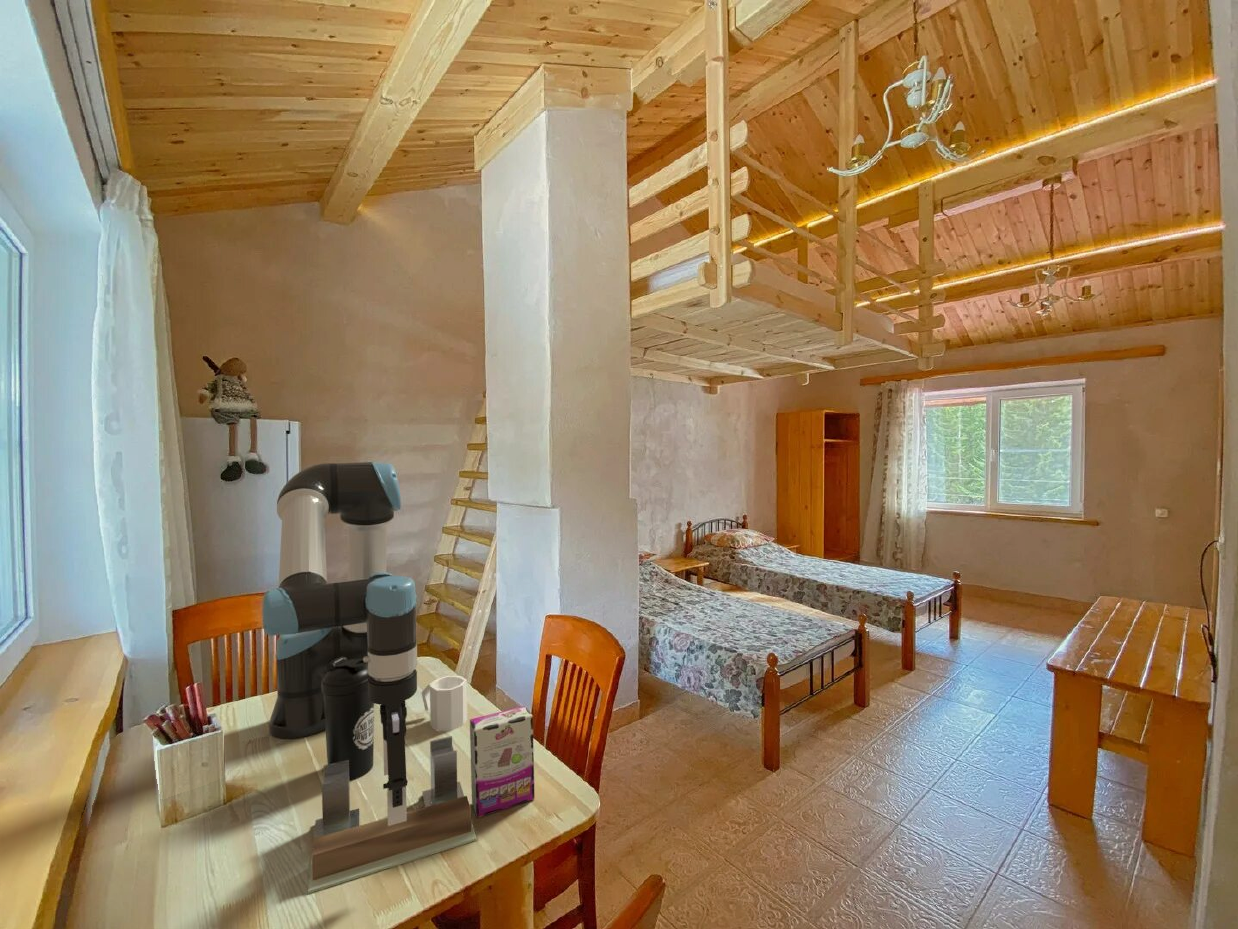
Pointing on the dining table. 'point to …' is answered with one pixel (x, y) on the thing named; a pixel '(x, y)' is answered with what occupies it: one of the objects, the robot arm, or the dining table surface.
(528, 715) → the candy bar box
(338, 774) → the post
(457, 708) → the mug
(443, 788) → the post
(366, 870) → the mat
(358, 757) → the water bottle
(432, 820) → the rail
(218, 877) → the dining table surface
